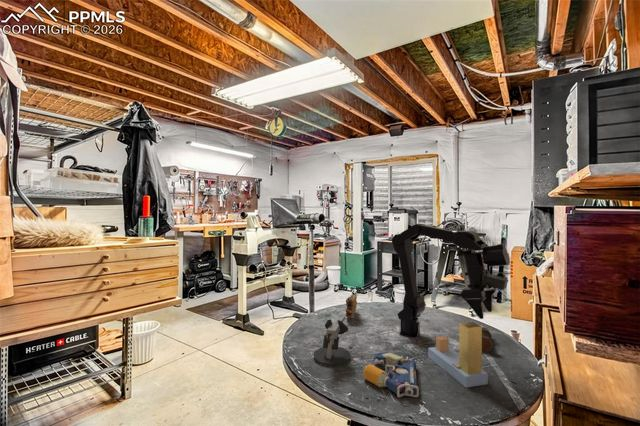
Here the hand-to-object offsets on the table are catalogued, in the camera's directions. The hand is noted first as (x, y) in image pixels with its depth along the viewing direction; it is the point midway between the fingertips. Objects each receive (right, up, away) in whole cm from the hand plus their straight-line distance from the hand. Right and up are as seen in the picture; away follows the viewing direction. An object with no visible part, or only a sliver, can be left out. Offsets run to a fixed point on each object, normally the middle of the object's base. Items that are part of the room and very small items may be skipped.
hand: (485, 315), depth 101 cm
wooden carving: (-41, -14, +39) cm, 58 cm away
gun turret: (-50, -14, +3) cm, 52 cm away
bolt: (+5, -14, +10) cm, 18 cm away
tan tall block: (-12, -11, -14) cm, 22 cm away
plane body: (-14, -14, -8) cm, 21 cm away
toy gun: (-34, -15, -12) cm, 39 cm away
